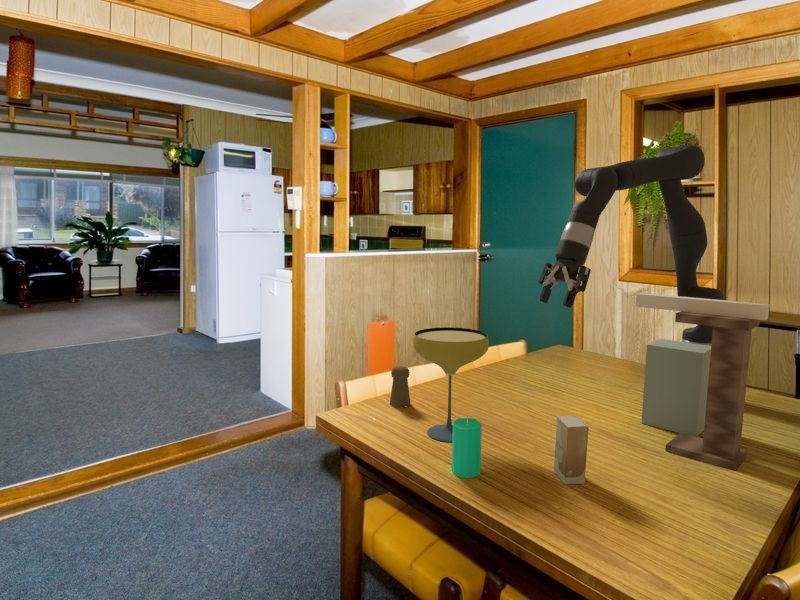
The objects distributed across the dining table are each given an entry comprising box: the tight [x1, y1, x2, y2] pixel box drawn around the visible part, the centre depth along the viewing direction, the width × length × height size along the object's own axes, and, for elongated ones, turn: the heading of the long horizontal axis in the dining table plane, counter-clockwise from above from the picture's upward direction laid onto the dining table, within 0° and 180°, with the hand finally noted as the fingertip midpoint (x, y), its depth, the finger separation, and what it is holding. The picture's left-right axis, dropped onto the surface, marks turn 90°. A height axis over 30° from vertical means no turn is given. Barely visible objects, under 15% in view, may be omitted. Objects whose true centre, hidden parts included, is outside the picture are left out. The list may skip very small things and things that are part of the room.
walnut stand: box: [665, 311, 761, 471], centre depth 120 cm, size 14×10×32 cm
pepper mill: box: [389, 365, 411, 408], centre depth 154 cm, size 6×6×11 cm
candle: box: [451, 415, 483, 479], centre depth 112 cm, size 6×6×12 cm
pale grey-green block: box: [641, 338, 711, 437], centre depth 138 cm, size 13×10×21 cm
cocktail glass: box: [412, 326, 490, 443], centre depth 131 cm, size 18×18×25 cm
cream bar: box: [635, 292, 770, 321], centre depth 120 cm, size 26×3×3 cm, turn 46°
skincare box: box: [553, 415, 589, 485], centre depth 109 cm, size 6×4×12 cm
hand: (554, 304), depth 135 cm, fingers open, 8 cm apart
